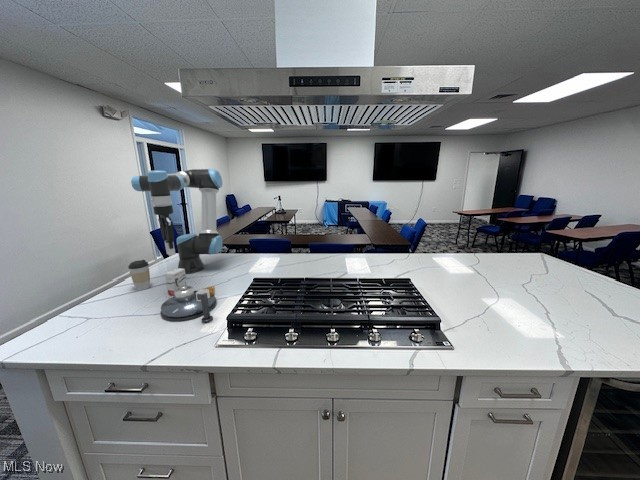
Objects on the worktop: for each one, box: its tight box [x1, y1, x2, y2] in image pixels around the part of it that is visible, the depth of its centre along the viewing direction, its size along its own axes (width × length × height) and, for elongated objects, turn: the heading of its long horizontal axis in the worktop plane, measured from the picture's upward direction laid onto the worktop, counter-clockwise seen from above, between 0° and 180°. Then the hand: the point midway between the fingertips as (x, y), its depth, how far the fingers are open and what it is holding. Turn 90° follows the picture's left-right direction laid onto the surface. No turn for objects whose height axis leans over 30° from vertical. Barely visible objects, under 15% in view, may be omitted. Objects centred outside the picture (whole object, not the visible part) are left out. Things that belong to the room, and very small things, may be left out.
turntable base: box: [160, 297, 218, 323], centre depth 115 cm, size 23×23×1 cm
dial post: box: [196, 288, 214, 324], centre depth 104 cm, size 5×5×13 cm
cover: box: [174, 285, 195, 302], centre depth 117 cm, size 8×8×6 cm
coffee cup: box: [128, 259, 151, 291], centre depth 135 cm, size 9×9×15 cm
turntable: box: [160, 285, 216, 318], centre depth 114 cm, size 22×22×6 cm
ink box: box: [164, 267, 188, 296], centre depth 130 cm, size 9×5×12 cm, turn 168°
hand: (171, 254), depth 120 cm, fingers open, 3 cm apart
